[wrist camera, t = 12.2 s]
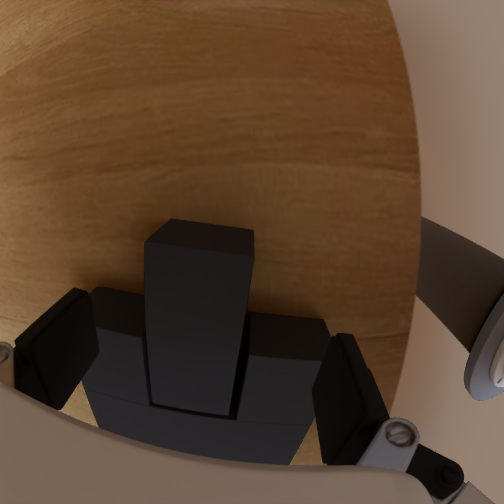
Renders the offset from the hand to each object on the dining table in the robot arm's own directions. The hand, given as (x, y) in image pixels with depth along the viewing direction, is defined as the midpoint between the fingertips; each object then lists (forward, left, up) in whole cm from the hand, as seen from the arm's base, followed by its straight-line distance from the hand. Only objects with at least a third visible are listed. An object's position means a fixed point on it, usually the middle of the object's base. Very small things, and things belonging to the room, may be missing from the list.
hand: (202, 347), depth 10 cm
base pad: (+1, +10, -8) cm, 13 cm away
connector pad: (+1, +3, -8) cm, 9 cm away
